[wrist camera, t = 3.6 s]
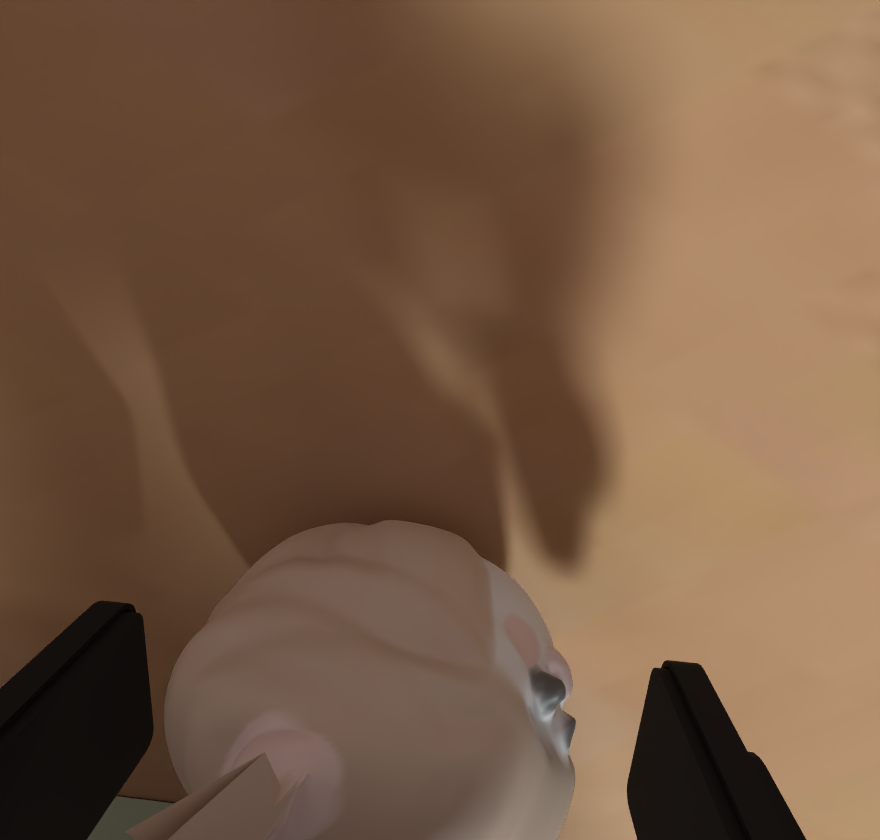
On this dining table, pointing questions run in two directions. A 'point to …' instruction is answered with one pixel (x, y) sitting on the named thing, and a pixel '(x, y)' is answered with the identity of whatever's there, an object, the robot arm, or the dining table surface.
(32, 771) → the robot arm
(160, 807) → the green block with dome
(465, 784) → the garlic bulb
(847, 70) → the dining table surface
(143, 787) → the dining table surface
